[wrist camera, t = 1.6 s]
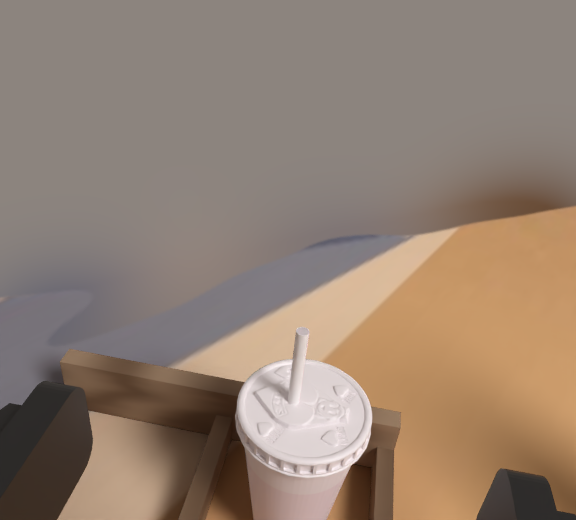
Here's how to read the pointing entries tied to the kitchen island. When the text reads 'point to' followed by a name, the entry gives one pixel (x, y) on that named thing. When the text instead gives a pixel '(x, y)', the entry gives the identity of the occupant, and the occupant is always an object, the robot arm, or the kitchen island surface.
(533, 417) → the kitchen island surface
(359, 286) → the kitchen island surface
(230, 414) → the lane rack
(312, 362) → the smoothie
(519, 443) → the kitchen island surface
